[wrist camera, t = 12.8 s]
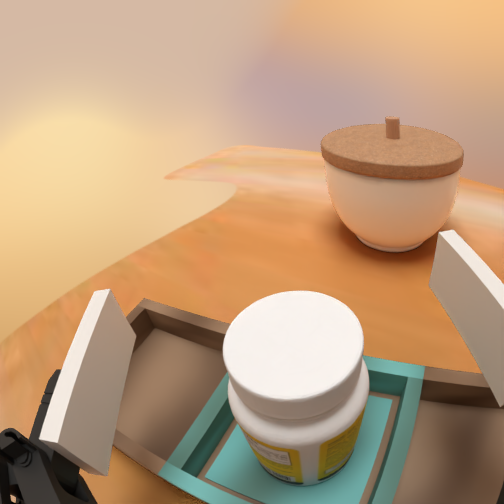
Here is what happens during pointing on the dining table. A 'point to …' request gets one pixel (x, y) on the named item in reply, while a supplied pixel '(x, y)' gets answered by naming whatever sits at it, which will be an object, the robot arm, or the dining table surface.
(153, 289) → the dining table surface
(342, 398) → the supplement bottle
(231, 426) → the tray
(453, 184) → the lidded bowl
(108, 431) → the robot arm
